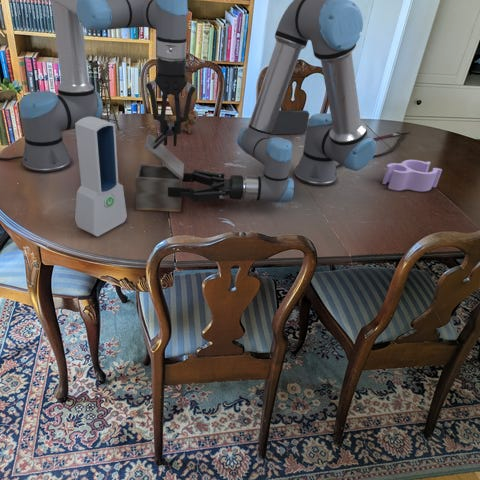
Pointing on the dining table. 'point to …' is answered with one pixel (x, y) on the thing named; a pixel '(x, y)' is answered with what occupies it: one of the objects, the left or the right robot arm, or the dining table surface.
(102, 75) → the miniature windmill
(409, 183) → the clip
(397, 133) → the sword
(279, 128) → the handheld gaming console
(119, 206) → the electronic device
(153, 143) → the lid
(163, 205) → the chest
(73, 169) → the dining table surface
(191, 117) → the lion figurine
